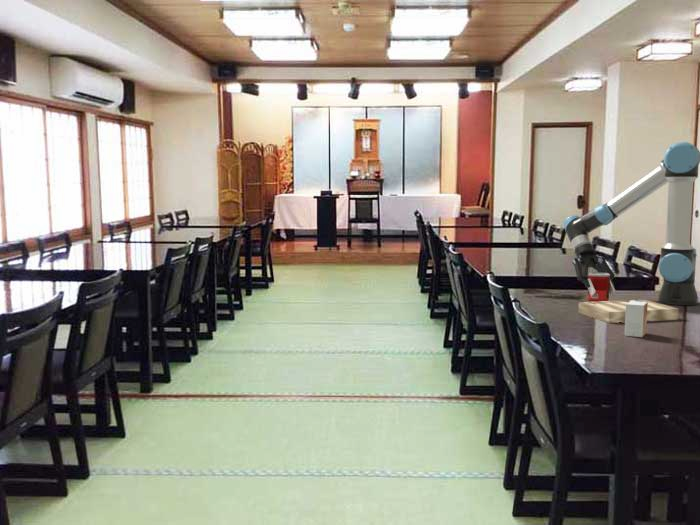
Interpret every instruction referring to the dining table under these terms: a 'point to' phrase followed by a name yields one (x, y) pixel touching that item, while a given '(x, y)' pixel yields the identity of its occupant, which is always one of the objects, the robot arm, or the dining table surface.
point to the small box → (636, 318)
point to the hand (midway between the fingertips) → (603, 293)
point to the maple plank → (617, 310)
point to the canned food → (599, 286)
